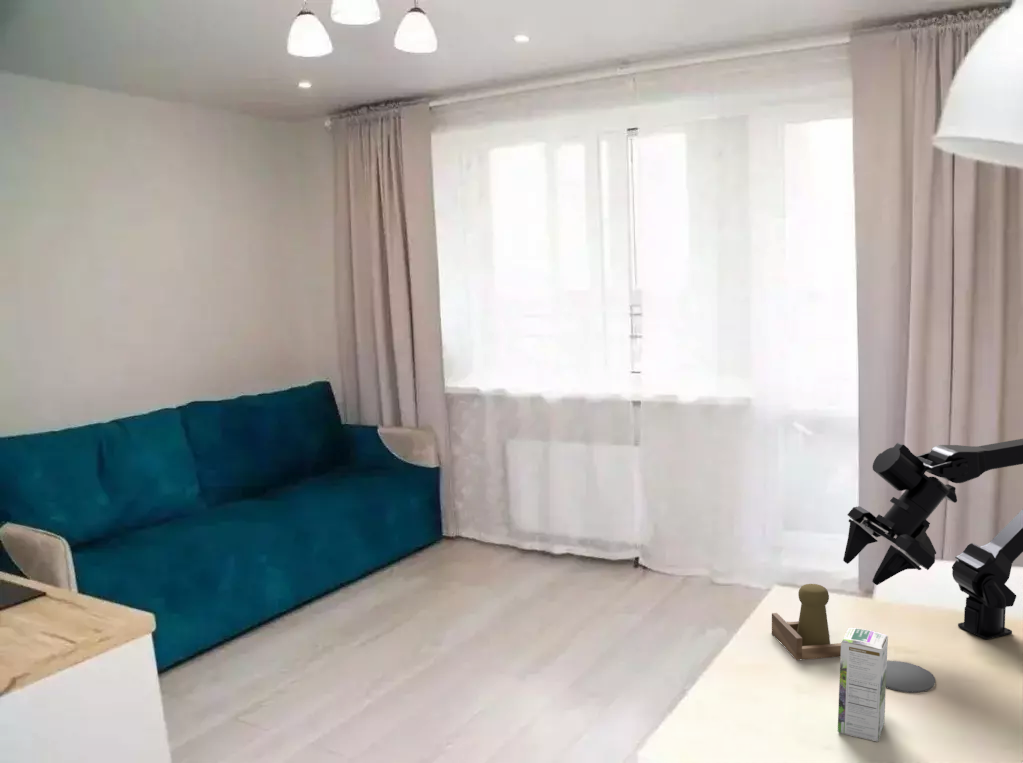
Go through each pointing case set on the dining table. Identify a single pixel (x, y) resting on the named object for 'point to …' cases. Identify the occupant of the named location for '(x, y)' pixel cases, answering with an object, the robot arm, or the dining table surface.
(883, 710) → the syrup box
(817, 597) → the cork
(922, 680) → the coaster
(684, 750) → the dining table surface
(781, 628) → the holder
